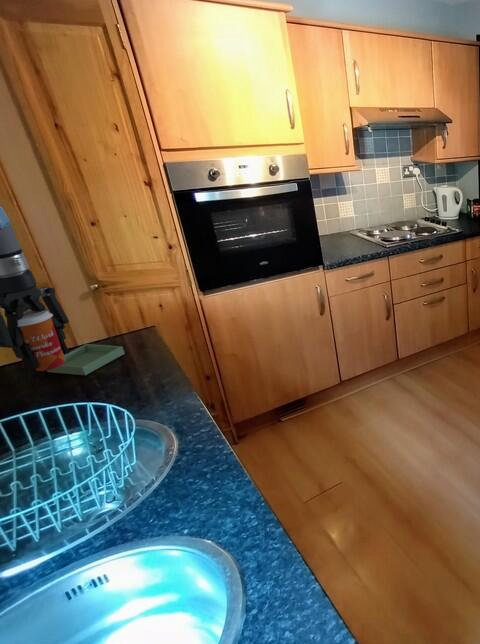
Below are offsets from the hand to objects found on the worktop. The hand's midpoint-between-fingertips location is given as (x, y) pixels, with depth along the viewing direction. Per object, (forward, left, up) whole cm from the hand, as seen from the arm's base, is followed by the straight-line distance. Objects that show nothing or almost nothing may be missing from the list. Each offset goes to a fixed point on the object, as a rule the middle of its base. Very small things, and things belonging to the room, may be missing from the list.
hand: (48, 359), depth 112 cm
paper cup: (0, 0, -2) cm, 2 cm away
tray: (-16, +19, -13) cm, 28 cm away
